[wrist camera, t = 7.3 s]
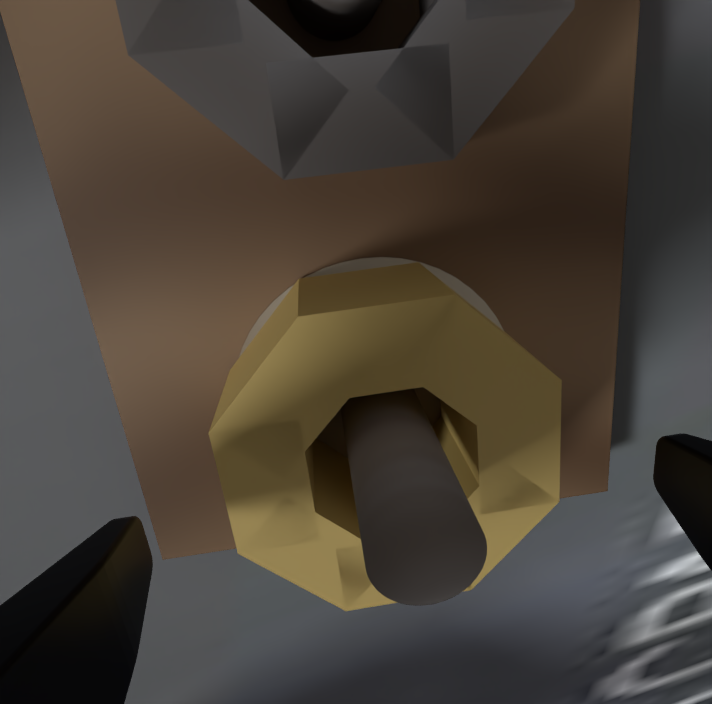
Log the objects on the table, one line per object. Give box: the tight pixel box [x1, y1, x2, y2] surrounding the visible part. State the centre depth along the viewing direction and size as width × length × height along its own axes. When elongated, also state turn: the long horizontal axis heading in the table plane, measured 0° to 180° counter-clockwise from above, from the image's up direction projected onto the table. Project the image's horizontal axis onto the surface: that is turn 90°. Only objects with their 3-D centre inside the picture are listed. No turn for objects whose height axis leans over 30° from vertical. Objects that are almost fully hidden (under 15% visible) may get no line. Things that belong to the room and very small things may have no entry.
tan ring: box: [208, 262, 562, 611], centre depth 11 cm, size 6×6×3 cm
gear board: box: [0, 0, 640, 605], centre depth 10 cm, size 16×12×7 cm
